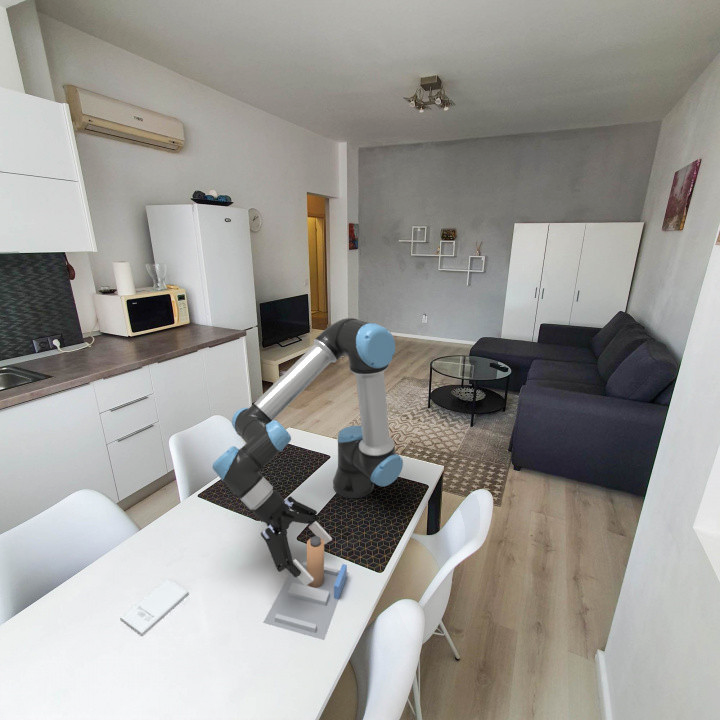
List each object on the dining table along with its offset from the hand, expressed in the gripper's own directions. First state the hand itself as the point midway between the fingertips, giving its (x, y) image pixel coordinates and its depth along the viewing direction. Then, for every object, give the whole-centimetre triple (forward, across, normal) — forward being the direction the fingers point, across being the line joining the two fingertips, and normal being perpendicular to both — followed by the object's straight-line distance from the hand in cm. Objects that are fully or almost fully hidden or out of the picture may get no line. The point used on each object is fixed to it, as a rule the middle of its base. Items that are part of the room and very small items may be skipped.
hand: (319, 560), depth 97 cm
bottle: (+4, 0, -6) cm, 7 cm away
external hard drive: (-19, +16, -32) cm, 41 cm away
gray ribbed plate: (+5, +4, -7) cm, 9 cm away
